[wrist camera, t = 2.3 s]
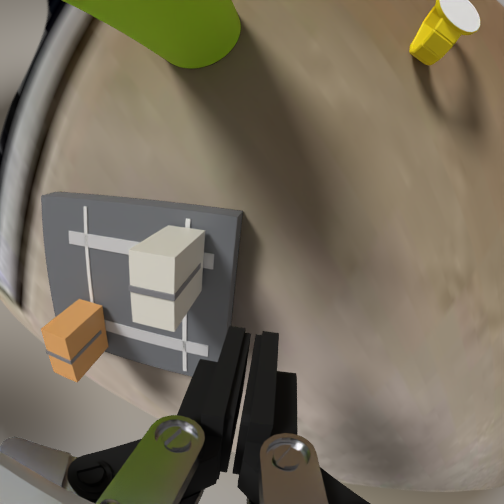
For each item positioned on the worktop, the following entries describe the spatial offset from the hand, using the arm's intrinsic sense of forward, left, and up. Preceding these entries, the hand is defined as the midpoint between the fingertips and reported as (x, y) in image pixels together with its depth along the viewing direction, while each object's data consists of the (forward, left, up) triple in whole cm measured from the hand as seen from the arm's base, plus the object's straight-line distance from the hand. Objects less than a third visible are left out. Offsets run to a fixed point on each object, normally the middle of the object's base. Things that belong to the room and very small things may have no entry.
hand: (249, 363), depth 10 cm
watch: (-9, -17, -11) cm, 23 cm away
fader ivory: (+5, 0, -9) cm, 10 cm away
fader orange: (+13, +7, -9) cm, 17 cm away
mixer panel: (+10, +4, -11) cm, 15 cm away
